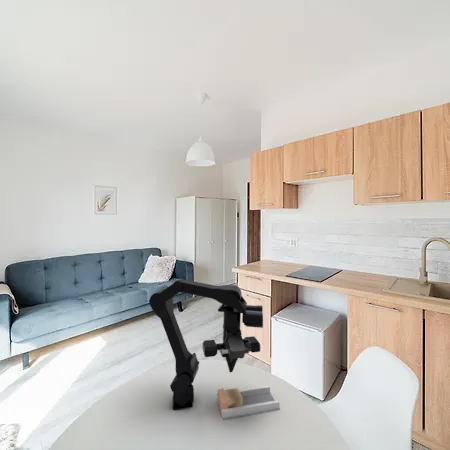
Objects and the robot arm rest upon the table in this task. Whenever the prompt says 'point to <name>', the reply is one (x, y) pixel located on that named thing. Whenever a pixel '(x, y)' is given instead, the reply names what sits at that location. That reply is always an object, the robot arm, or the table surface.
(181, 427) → the table surface
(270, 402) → the channel
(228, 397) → the tan block
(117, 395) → the table surface
